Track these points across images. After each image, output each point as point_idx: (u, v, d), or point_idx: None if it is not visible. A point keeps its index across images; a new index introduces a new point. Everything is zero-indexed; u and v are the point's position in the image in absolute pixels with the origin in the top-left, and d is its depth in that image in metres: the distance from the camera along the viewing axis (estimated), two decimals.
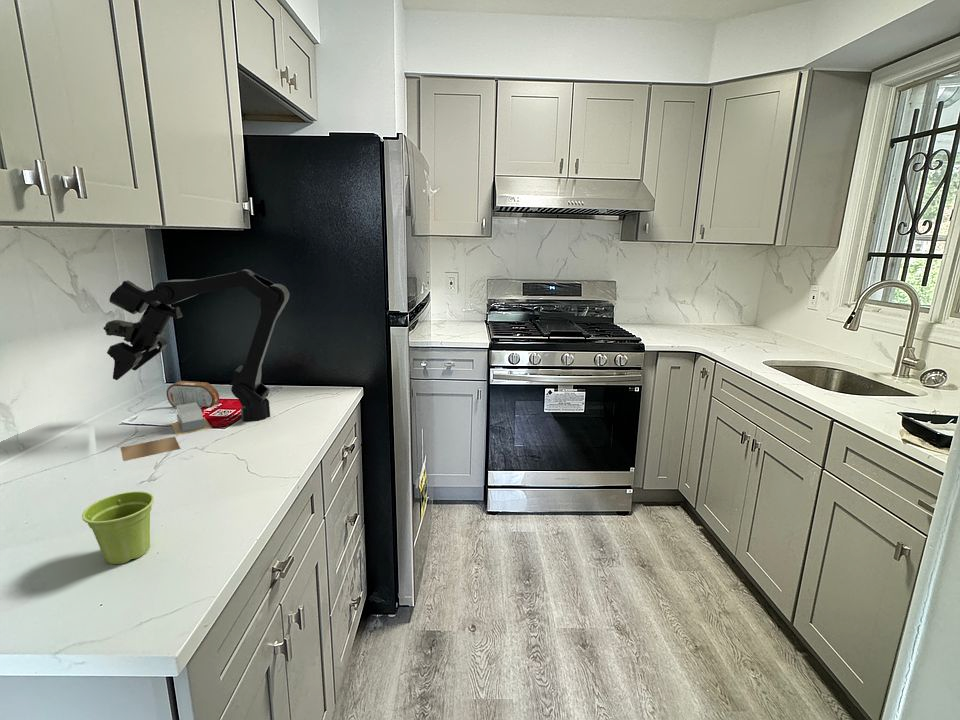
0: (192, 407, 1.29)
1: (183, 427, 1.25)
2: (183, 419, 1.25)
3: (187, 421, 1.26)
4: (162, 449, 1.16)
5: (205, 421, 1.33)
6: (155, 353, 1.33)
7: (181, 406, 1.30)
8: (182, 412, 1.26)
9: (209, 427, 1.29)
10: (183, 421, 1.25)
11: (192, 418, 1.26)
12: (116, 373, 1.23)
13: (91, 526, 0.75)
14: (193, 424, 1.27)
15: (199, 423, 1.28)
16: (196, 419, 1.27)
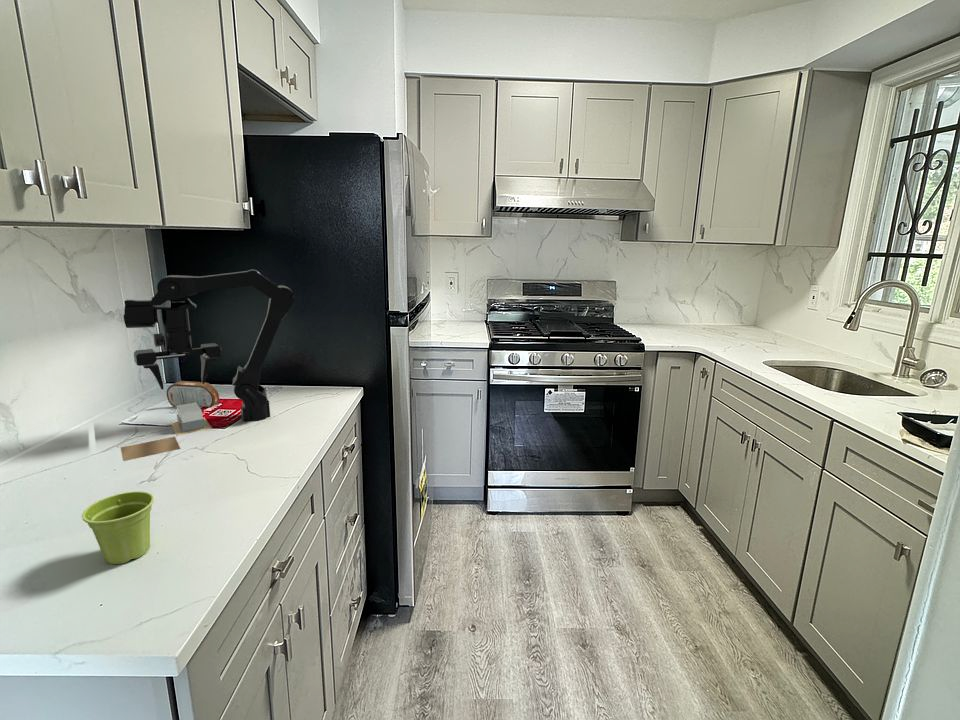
0: (192, 407, 1.29)
1: (183, 427, 1.25)
2: (183, 419, 1.25)
3: (187, 421, 1.26)
4: (162, 449, 1.16)
5: (205, 421, 1.33)
6: (205, 360, 1.27)
7: (181, 406, 1.30)
8: (182, 412, 1.26)
9: (209, 427, 1.29)
10: (183, 421, 1.25)
11: (192, 418, 1.26)
12: None
13: (91, 526, 0.75)
14: (193, 424, 1.27)
15: (199, 423, 1.28)
16: (196, 419, 1.27)
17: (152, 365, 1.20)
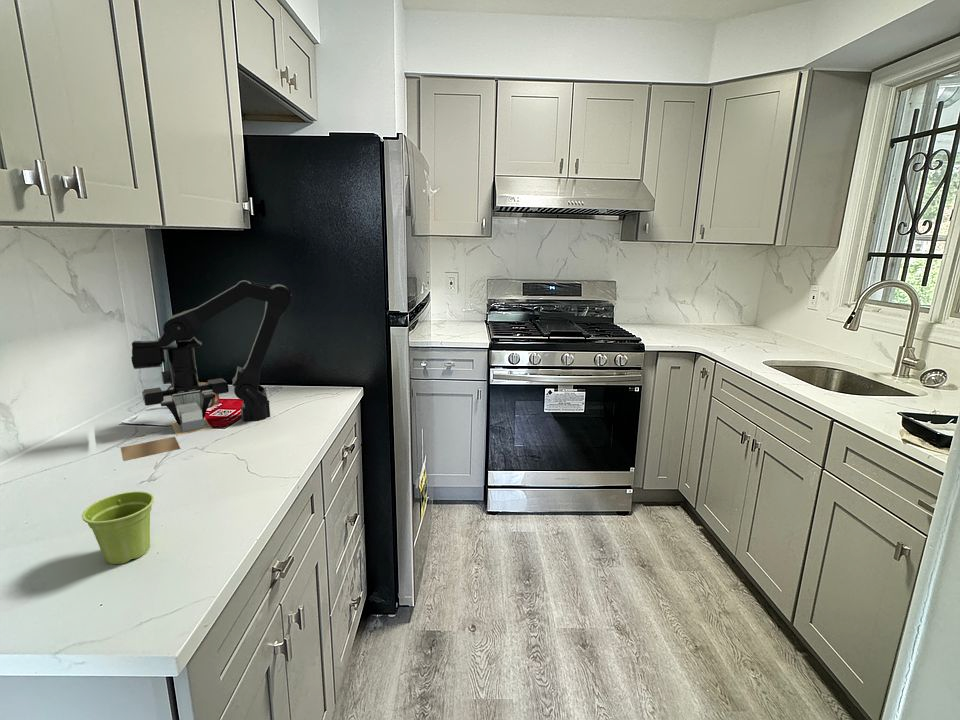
0: (192, 407, 1.29)
1: (183, 427, 1.25)
2: (183, 419, 1.25)
3: (187, 421, 1.26)
4: (162, 449, 1.16)
5: (205, 421, 1.33)
6: (203, 398, 1.28)
7: (181, 406, 1.30)
8: (182, 412, 1.26)
9: (209, 427, 1.29)
10: (183, 421, 1.25)
11: (192, 418, 1.26)
12: None
13: (91, 526, 0.75)
14: (193, 424, 1.27)
15: (199, 423, 1.28)
16: (196, 419, 1.27)
17: (169, 403, 1.24)
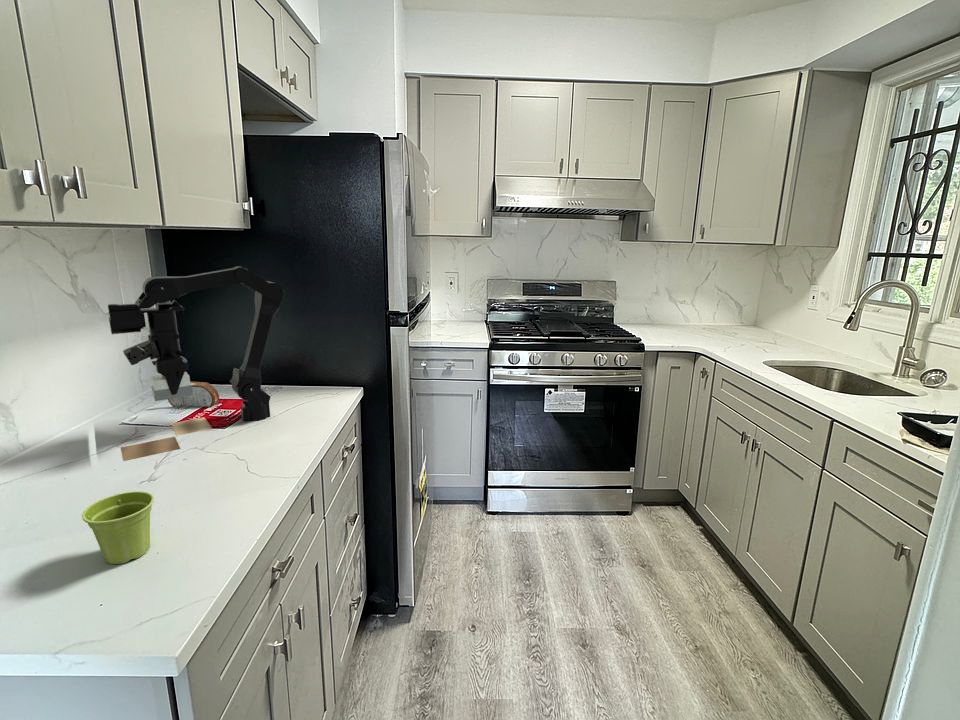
0: None
1: None
2: (189, 381, 1.23)
3: None
4: (162, 449, 1.16)
5: (205, 421, 1.33)
6: None
7: (159, 379, 1.19)
8: (184, 376, 1.22)
9: (209, 427, 1.29)
10: None
11: None
12: (172, 387, 1.20)
13: (91, 526, 0.75)
14: None
15: None
16: None
17: None
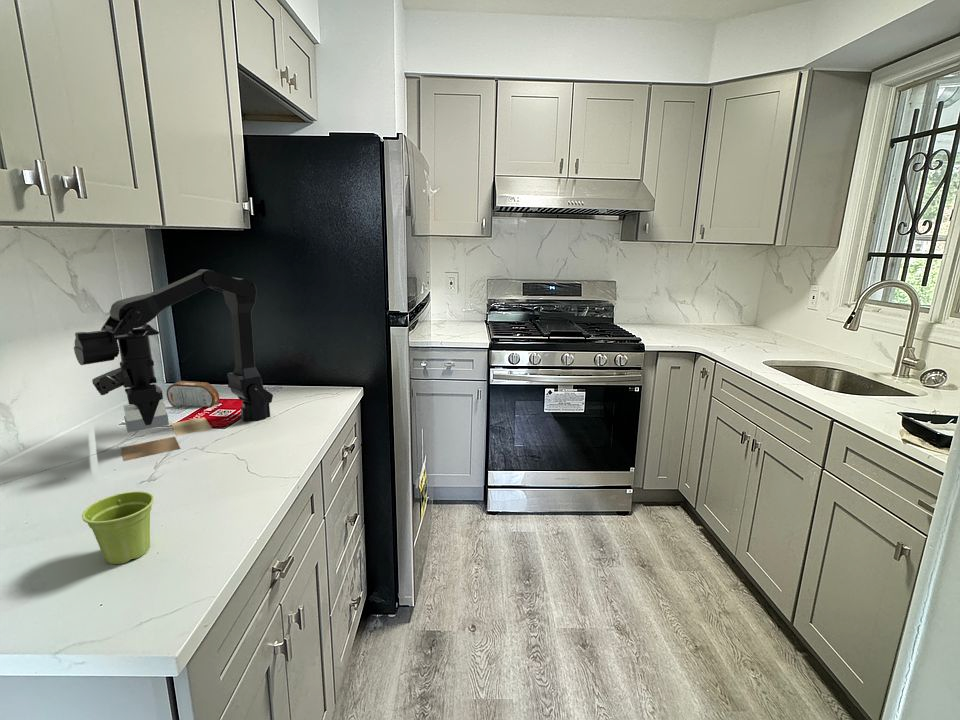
0: None
1: None
2: (165, 410, 1.15)
3: (165, 412, 1.16)
4: (162, 449, 1.16)
5: (205, 421, 1.33)
6: None
7: (132, 408, 1.11)
8: (159, 404, 1.14)
9: (209, 427, 1.29)
10: None
11: None
12: (146, 418, 1.12)
13: (91, 526, 0.75)
14: None
15: None
16: None
17: None
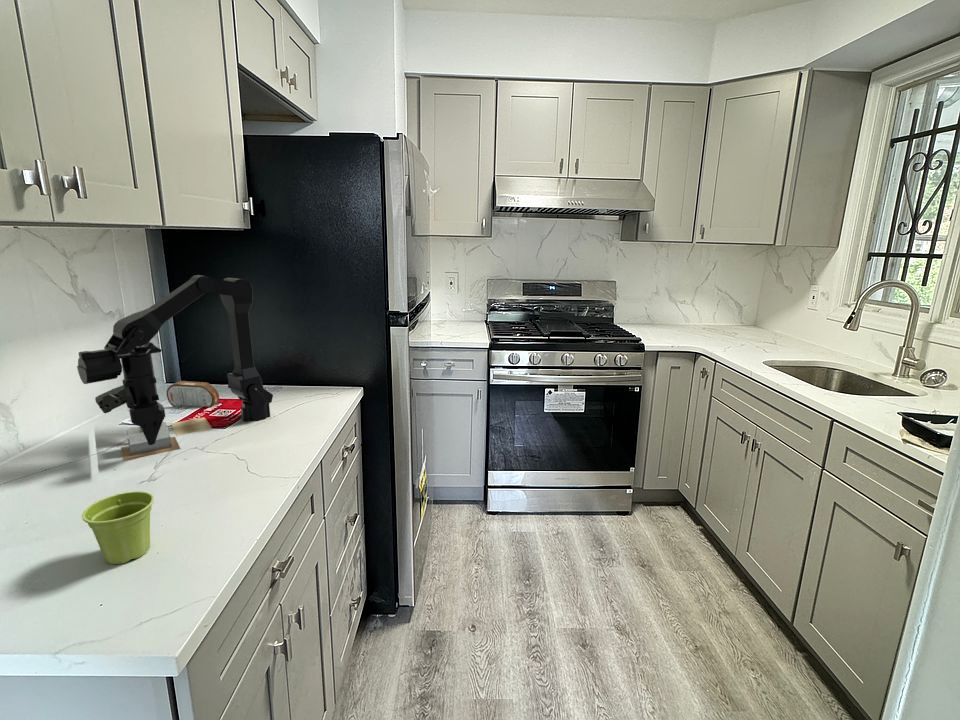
0: None
1: None
2: (168, 433, 1.17)
3: None
4: (162, 449, 1.16)
5: (205, 421, 1.33)
6: None
7: (136, 432, 1.13)
8: (163, 427, 1.16)
9: (209, 427, 1.29)
10: (169, 435, 1.17)
11: None
12: (150, 437, 1.11)
13: (91, 526, 0.75)
14: None
15: None
16: None
17: None
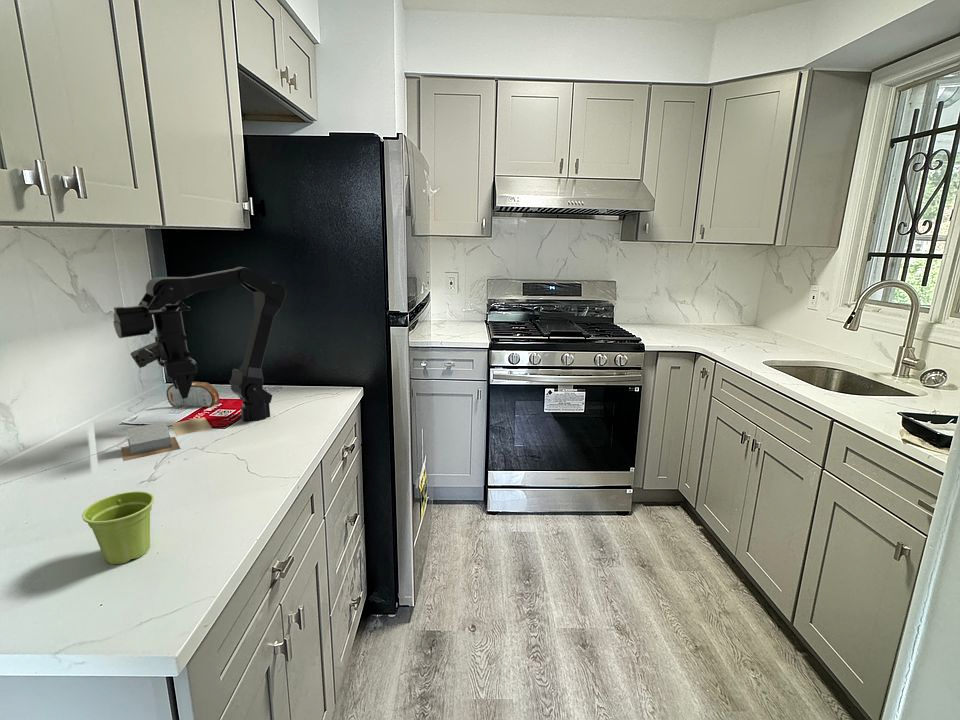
0: (148, 426, 1.16)
1: None
2: (168, 433, 1.17)
3: None
4: (162, 449, 1.16)
5: (205, 421, 1.33)
6: None
7: (136, 432, 1.13)
8: (163, 427, 1.16)
9: (209, 427, 1.29)
10: (169, 435, 1.17)
11: None
12: (183, 391, 1.17)
13: (91, 526, 0.75)
14: None
15: None
16: None
17: None
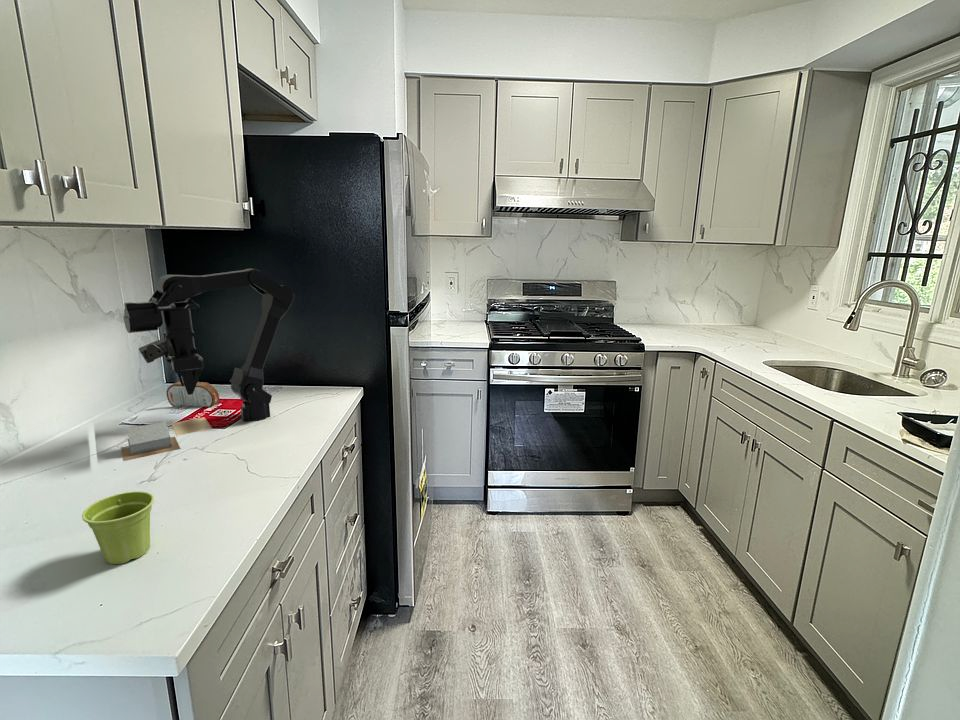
0: (148, 426, 1.16)
1: None
2: (168, 433, 1.17)
3: None
4: (162, 449, 1.16)
5: (205, 421, 1.33)
6: None
7: (136, 432, 1.13)
8: (163, 427, 1.16)
9: (209, 427, 1.29)
10: (169, 435, 1.17)
11: None
12: (189, 387, 1.18)
13: (91, 526, 0.75)
14: None
15: None
16: None
17: None
